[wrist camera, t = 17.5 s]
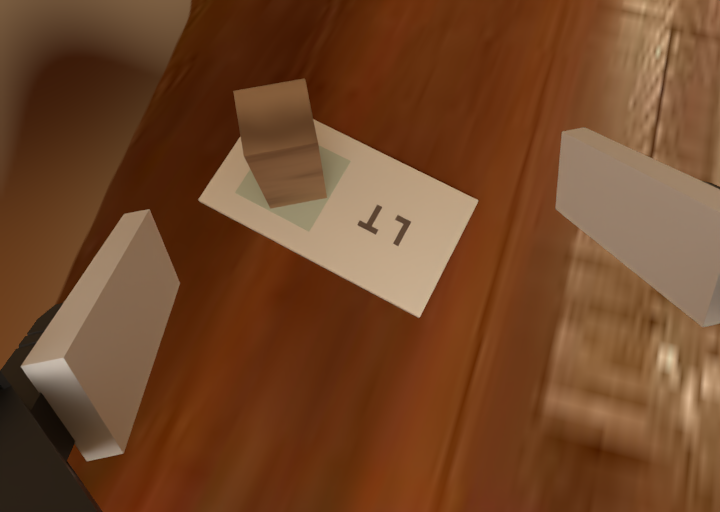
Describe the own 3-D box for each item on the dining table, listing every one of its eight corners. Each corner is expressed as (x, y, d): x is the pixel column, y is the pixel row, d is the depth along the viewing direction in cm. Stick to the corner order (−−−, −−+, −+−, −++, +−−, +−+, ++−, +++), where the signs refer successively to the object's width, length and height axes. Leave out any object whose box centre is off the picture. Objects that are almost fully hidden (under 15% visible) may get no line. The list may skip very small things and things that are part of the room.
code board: (268, 99, 53) (266, 96, 52) (477, 202, 50) (478, 200, 49) (199, 201, 50) (197, 199, 49) (418, 318, 47) (419, 317, 46)
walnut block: (261, 157, 50) (233, 91, 39) (316, 146, 51) (304, 78, 39) (270, 208, 49) (243, 156, 37) (327, 197, 49) (318, 142, 38)
